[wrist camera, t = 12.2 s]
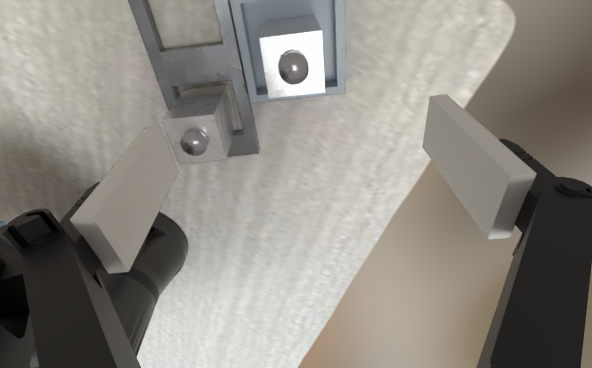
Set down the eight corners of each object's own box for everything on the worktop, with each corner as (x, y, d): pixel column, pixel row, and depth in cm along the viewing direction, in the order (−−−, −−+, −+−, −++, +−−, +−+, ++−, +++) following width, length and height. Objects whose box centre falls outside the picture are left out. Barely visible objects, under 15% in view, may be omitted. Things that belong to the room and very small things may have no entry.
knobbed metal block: (272, 70, 33) (268, 102, 26) (265, 20, 30) (258, 40, 23) (317, 65, 33) (325, 95, 26) (314, 14, 30) (322, 32, 23)
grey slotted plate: (259, 148, 40) (258, 153, 39) (189, 155, 40) (187, 160, 39) (214, -77, 27) (211, -78, 26) (111, -63, 27) (104, -64, 26)
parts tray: (253, 94, 35) (250, 103, 33) (233, -9, 29) (228, -6, 27) (341, 84, 35) (345, 93, 33) (339, -23, 29) (343, -21, 27)
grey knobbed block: (197, 128, 38) (176, 168, 31) (185, 89, 35) (158, 123, 28) (237, 124, 38) (224, 163, 30) (227, 84, 35) (211, 118, 28)
